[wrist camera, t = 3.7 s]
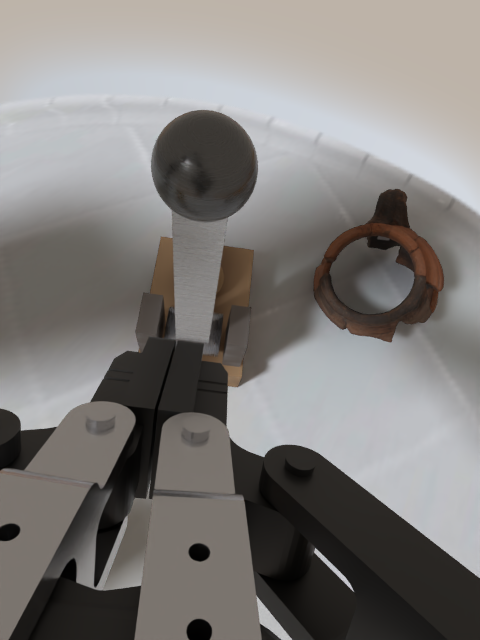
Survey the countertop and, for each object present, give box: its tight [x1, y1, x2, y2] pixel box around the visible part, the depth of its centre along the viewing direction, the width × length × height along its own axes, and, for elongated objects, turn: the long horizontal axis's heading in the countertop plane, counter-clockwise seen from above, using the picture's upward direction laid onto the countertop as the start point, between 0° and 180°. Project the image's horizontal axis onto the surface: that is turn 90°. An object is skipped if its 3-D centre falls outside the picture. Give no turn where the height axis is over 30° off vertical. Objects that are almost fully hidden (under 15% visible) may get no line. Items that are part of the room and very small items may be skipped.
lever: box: [151, 110, 258, 357], centre depth 22 cm, size 4×4×18 cm
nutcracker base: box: [136, 237, 254, 387], centre depth 32 cm, size 7×10×6 cm
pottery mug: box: [314, 189, 444, 342], centre depth 35 cm, size 12×10×8 cm
